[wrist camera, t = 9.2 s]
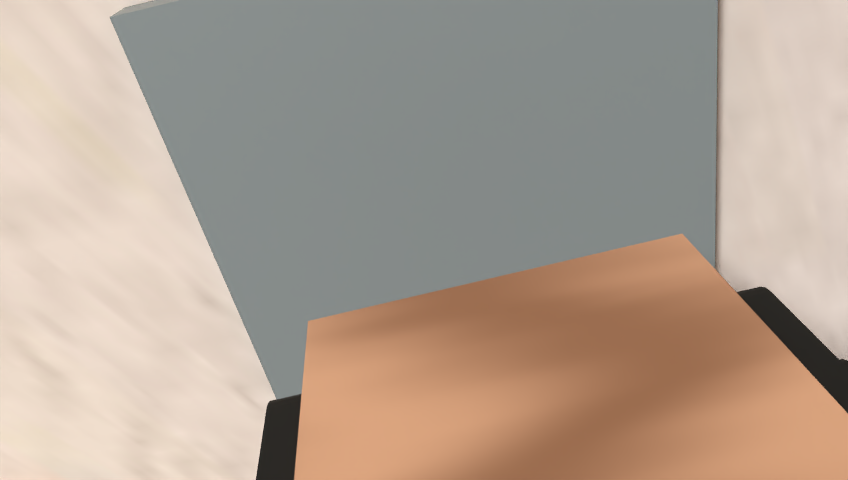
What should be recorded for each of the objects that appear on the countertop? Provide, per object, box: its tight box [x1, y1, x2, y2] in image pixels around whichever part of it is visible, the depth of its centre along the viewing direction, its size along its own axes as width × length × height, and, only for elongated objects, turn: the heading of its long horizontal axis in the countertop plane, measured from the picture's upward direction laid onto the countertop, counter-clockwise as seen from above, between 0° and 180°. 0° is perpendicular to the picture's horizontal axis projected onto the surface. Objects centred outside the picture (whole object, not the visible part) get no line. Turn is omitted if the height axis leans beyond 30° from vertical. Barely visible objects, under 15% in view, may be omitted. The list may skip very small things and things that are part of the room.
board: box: [110, 0, 718, 399], centre depth 19 cm, size 14×14×1 cm
